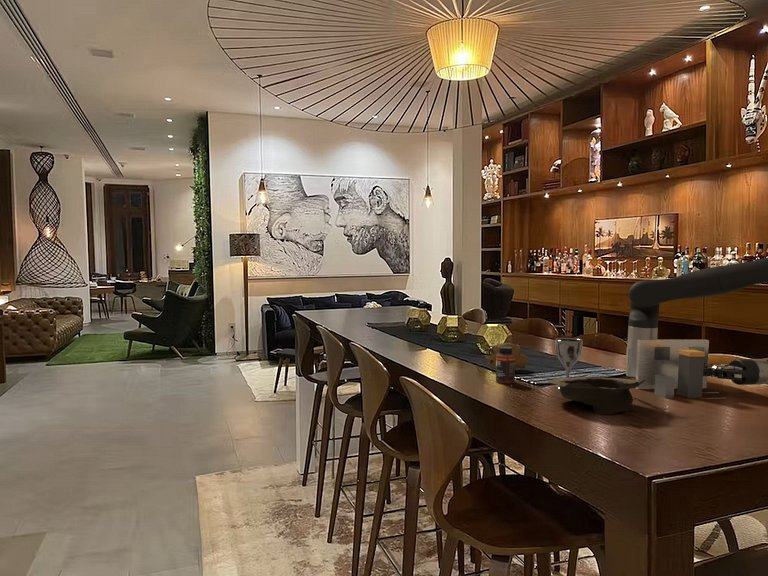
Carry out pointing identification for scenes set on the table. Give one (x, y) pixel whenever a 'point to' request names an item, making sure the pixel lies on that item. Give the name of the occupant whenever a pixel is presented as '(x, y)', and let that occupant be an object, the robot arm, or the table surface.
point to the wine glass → (568, 352)
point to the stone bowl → (599, 392)
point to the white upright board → (665, 364)
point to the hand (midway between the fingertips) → (697, 372)
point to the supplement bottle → (505, 366)
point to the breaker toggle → (690, 373)
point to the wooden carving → (519, 358)
